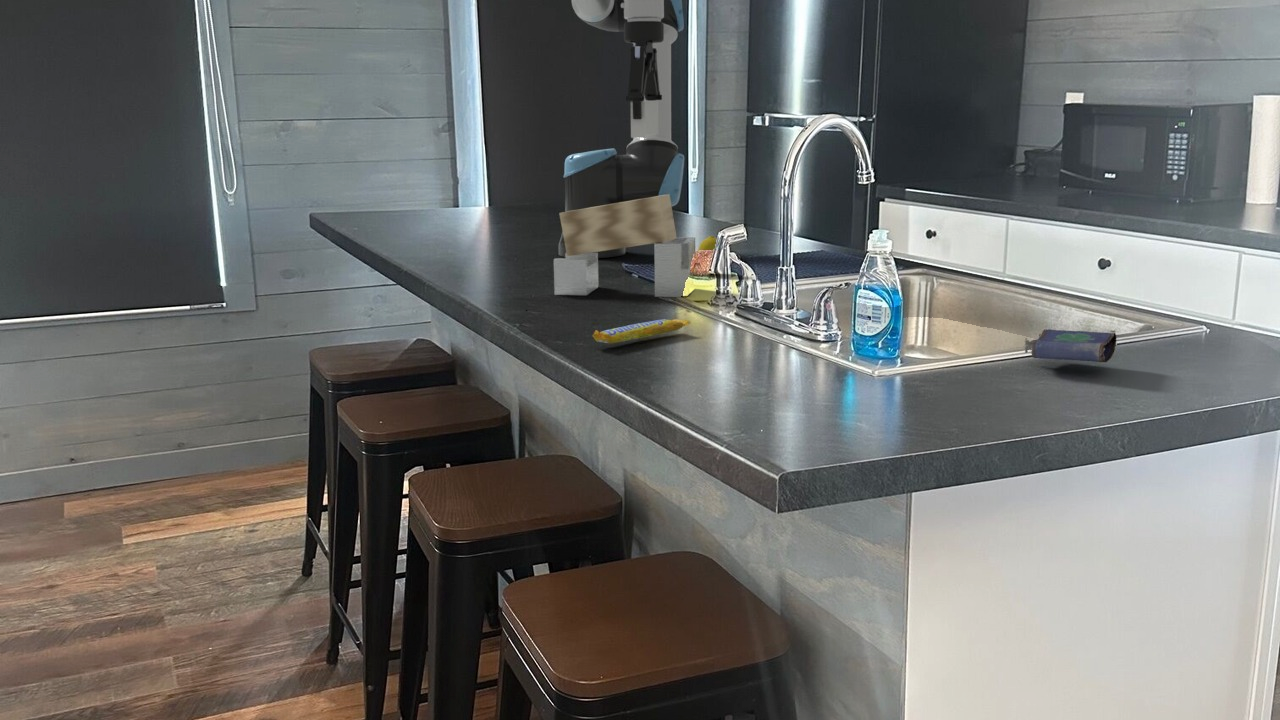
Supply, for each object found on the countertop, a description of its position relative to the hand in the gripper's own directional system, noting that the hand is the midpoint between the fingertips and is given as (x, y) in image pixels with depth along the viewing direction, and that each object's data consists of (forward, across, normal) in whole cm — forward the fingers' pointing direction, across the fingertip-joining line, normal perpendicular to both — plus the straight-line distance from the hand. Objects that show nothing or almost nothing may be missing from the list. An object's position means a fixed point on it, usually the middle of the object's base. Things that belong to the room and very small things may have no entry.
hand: (645, 135), depth 213 cm
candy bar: (+27, +55, +9) cm, 62 cm away
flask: (+27, +67, +72) cm, 102 cm away
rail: (+19, +18, -1) cm, 26 cm away
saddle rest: (+27, +17, -10) cm, 34 cm away
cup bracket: (+27, +17, +8) cm, 33 cm away
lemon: (+28, -5, +12) cm, 31 cm away
